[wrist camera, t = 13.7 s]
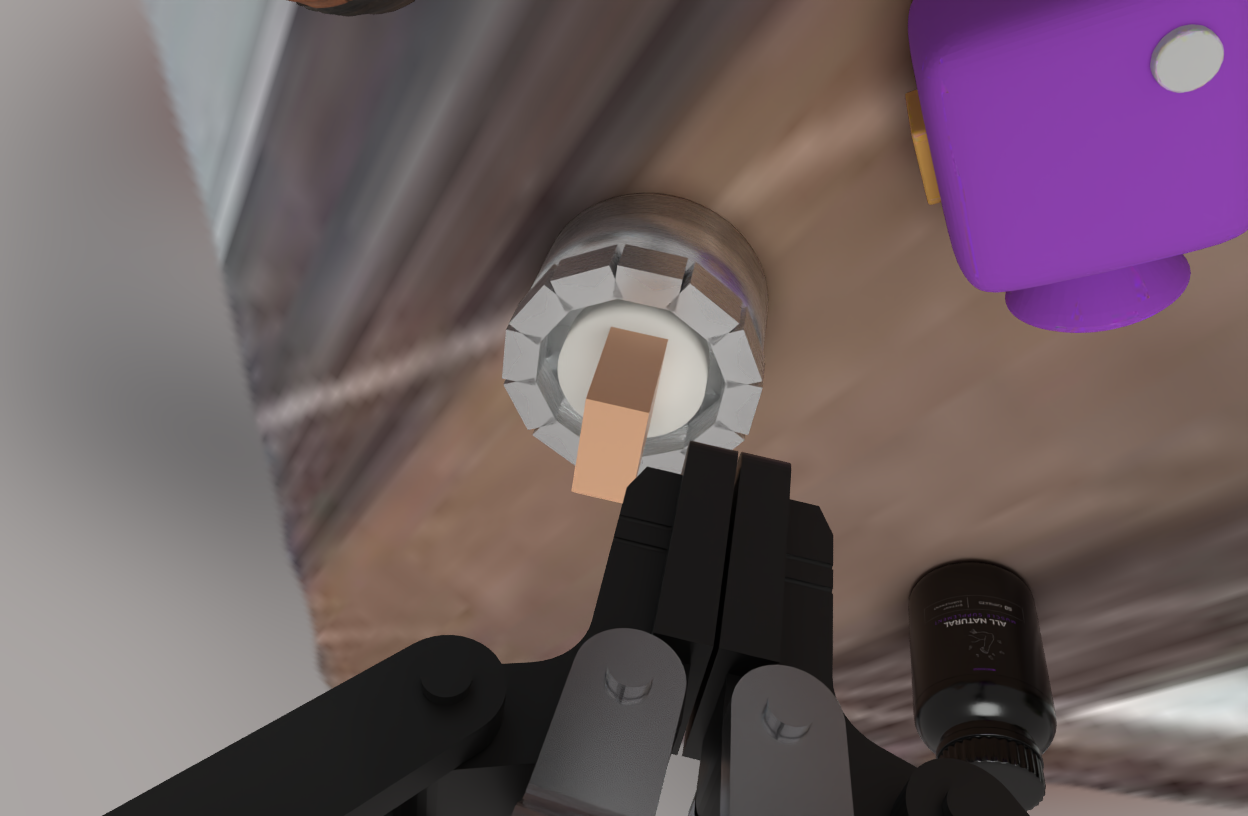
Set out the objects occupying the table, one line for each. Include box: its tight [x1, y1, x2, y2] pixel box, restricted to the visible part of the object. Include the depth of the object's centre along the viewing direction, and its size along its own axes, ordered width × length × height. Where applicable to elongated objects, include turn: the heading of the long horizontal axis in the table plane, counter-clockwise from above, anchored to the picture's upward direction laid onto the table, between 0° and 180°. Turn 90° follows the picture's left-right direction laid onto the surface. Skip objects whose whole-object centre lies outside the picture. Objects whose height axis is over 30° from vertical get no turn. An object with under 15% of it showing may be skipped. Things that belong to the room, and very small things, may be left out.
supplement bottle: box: [909, 562, 1057, 811], centre depth 50 cm, size 7×7×12 cm
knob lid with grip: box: [557, 299, 710, 503], centre depth 39 cm, size 6×6×7 cm
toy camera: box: [905, 0, 1248, 333], centre depth 34 cm, size 11×14×10 cm
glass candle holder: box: [502, 193, 768, 476], centre depth 43 cm, size 11×11×7 cm
